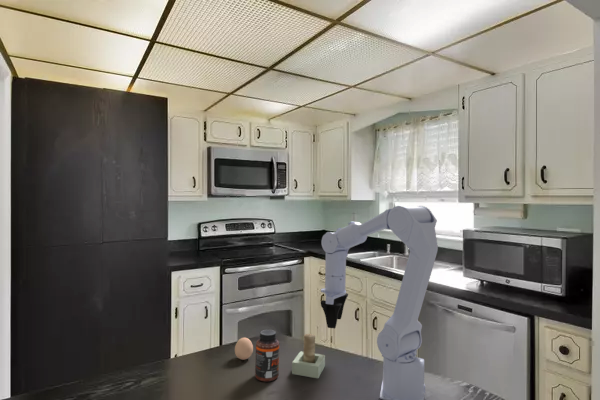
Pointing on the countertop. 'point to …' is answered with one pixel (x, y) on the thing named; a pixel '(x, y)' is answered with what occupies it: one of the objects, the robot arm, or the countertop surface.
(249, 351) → the egg
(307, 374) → the hole block
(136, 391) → the countertop surface
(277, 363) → the supplement bottle
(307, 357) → the beech peg
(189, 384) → the countertop surface
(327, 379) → the countertop surface
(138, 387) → the countertop surface
